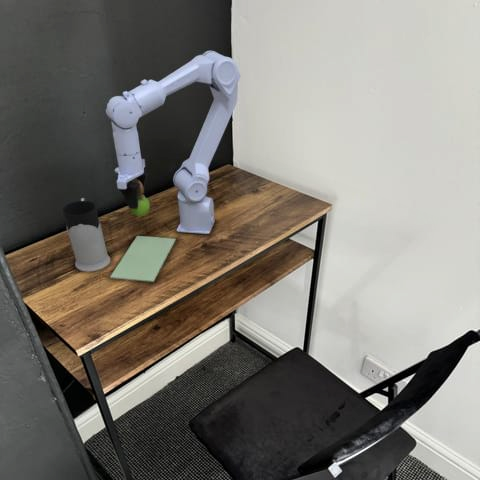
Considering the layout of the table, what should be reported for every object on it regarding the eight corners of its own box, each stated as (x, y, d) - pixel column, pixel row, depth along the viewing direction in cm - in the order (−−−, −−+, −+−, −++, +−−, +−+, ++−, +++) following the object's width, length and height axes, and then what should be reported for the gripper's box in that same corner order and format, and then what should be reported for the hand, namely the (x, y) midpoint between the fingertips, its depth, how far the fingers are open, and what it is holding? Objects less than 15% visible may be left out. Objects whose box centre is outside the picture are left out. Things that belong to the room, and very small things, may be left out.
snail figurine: (138, 206, 126) (131, 164, 117) (155, 213, 123) (149, 171, 114) (123, 214, 122) (115, 172, 114) (140, 222, 120) (133, 180, 111)
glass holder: (74, 273, 114) (57, 218, 104) (78, 244, 125) (63, 191, 115) (110, 269, 115) (97, 214, 106) (110, 240, 126) (99, 188, 116)
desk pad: (175, 239, 126) (175, 238, 126) (153, 282, 111) (153, 280, 111) (137, 237, 127) (137, 235, 127) (110, 278, 112) (109, 276, 112)
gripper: (123, 140, 117) (131, 191, 126) (100, 161, 106) (111, 215, 115) (150, 142, 116) (156, 193, 125) (129, 163, 105) (138, 218, 114)
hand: (136, 204), depth 120 cm, fingers closed on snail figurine, 4 cm apart
